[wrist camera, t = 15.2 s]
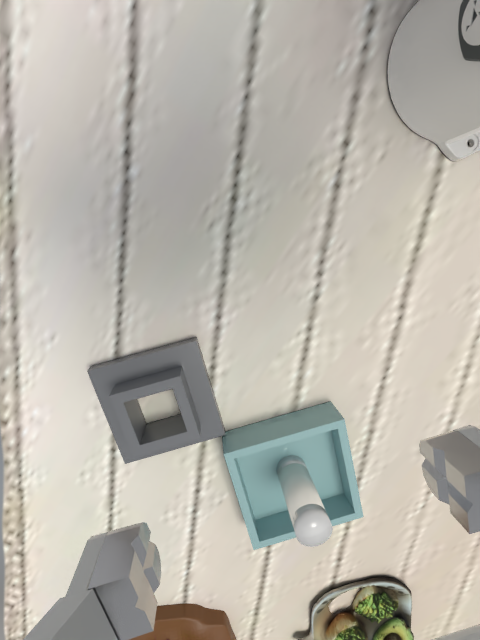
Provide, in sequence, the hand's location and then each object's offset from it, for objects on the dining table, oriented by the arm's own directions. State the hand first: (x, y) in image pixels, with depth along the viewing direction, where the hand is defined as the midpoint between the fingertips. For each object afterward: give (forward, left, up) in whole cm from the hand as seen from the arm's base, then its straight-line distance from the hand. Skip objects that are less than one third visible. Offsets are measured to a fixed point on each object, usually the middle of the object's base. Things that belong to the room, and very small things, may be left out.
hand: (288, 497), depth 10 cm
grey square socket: (+11, +10, -31) cm, 34 cm away
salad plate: (-8, +57, -32) cm, 66 cm away
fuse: (-3, +24, -30) cm, 39 cm away
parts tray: (-2, +24, -31) cm, 40 cm away
